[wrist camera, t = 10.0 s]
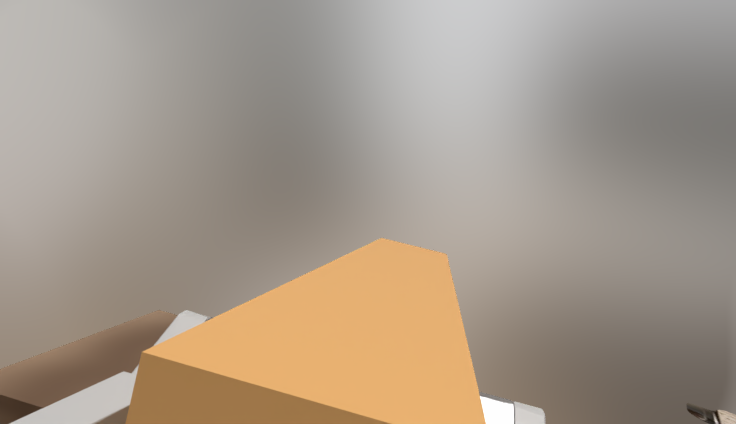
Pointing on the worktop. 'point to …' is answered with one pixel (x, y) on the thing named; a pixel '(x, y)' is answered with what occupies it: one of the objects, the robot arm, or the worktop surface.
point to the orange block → (324, 351)
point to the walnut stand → (77, 365)
